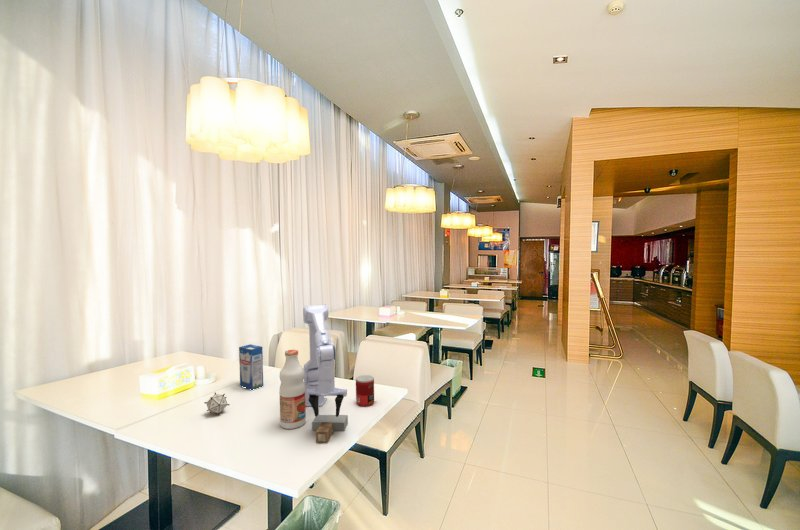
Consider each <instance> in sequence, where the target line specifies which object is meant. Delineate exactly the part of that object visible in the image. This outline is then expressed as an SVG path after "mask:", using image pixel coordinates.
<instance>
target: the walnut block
mask: <svg viewBox="0 0 800 530" xmlns="http://www.w3.org/2000/svg"><path fill="white" fill-rule="evenodd" d="M333 433H334V432H333V422H321V424H320V426H319V428H318V429H317V430H315V441H316V442H315V443H316V444H328V443H329V441H330V439H331V437H332V435H333Z"/></svg>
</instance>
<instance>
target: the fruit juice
mask: <svg viewBox="0 0 800 530" xmlns="http://www.w3.org/2000/svg"><path fill="white" fill-rule="evenodd" d="M298 356H299V351H298V349H287V350H285V351H284V357H285V362H284V365H283V367H282V368H281V370H280V371H279V380H280V385H279V419H280V420H279V424H280V426H281V428H283V429H285V430H292V429H297V428H300V427H302V426H303V425H305V423H306V419H307V417H306V416H307V415H306V414H307V413H306V412H307V411H306V408H307V406H306V405H305V384H304V367H303V366H302V365H301V364H300V362H299V357H298Z"/></svg>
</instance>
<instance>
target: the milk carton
mask: <svg viewBox="0 0 800 530" xmlns="http://www.w3.org/2000/svg"><path fill="white" fill-rule="evenodd" d="M238 348H239V349H238V351H239V352H238V353H239V354H238V355H239V359H238V360H239V386H240V385H241V386H243V387H246V388H249V389H251V390H253V389H256V388H258V389H260V388H259V387H261V388H263V387H264V365H263V364H264V360H263V359H264V356H263V352H264V351H263V346H260V345H256V344H247V345H246V344H245V345H243V346H239V347H238ZM262 386H263V387H262ZM251 390H250V391H251ZM256 390H257V389H256ZM253 391H254V390H253Z"/></svg>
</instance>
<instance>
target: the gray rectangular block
mask: <svg viewBox="0 0 800 530" xmlns="http://www.w3.org/2000/svg"><path fill="white" fill-rule="evenodd" d="M348 418H349V417H348V414H339V416H338V417H336V414H318V416H314V419H313V420H312V422H311V429H312V430H311V431H317V429H318V428H319V426H320V424H321V422H333V431H337V432H338V431H339V432H340V431H341V432H343V431H345V430H346V429H347V426H348V423H349V421H348V420H349V419H348Z"/></svg>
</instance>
